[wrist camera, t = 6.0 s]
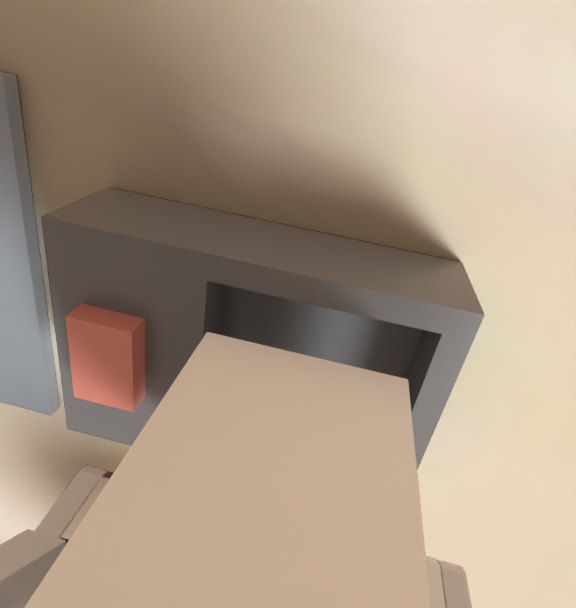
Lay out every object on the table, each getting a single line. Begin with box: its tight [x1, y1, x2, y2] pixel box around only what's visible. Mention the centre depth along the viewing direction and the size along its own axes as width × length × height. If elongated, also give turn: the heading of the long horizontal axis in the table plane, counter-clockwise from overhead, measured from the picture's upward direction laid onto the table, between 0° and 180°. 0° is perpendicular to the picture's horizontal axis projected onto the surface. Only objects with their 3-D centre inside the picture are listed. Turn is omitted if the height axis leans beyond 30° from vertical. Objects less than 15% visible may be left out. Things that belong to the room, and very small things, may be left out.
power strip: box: [41, 188, 484, 469], centre depth 15 cm, size 8×12×4 cm, turn 81°
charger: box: [24, 332, 431, 608], centre depth 9 cm, size 5×5×7 cm
